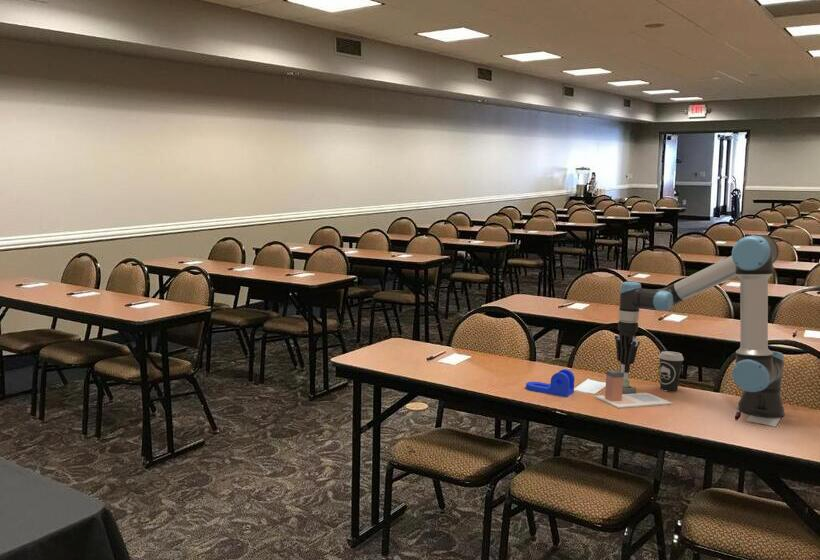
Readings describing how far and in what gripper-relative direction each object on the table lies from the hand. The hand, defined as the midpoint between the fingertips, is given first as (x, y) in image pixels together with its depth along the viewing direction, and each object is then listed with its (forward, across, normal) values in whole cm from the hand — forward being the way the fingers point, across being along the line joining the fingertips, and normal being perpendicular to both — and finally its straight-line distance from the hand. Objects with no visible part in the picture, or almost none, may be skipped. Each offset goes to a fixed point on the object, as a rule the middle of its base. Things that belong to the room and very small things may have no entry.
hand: (624, 380), depth 274 cm
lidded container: (+4, -10, +12) cm, 16 cm away
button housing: (+5, 0, 0) cm, 5 cm away
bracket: (+5, +8, +29) cm, 31 cm away
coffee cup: (+5, 0, -22) cm, 23 cm away
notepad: (+5, -12, +4) cm, 13 cm away
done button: (+4, 0, 0) cm, 4 cm away
